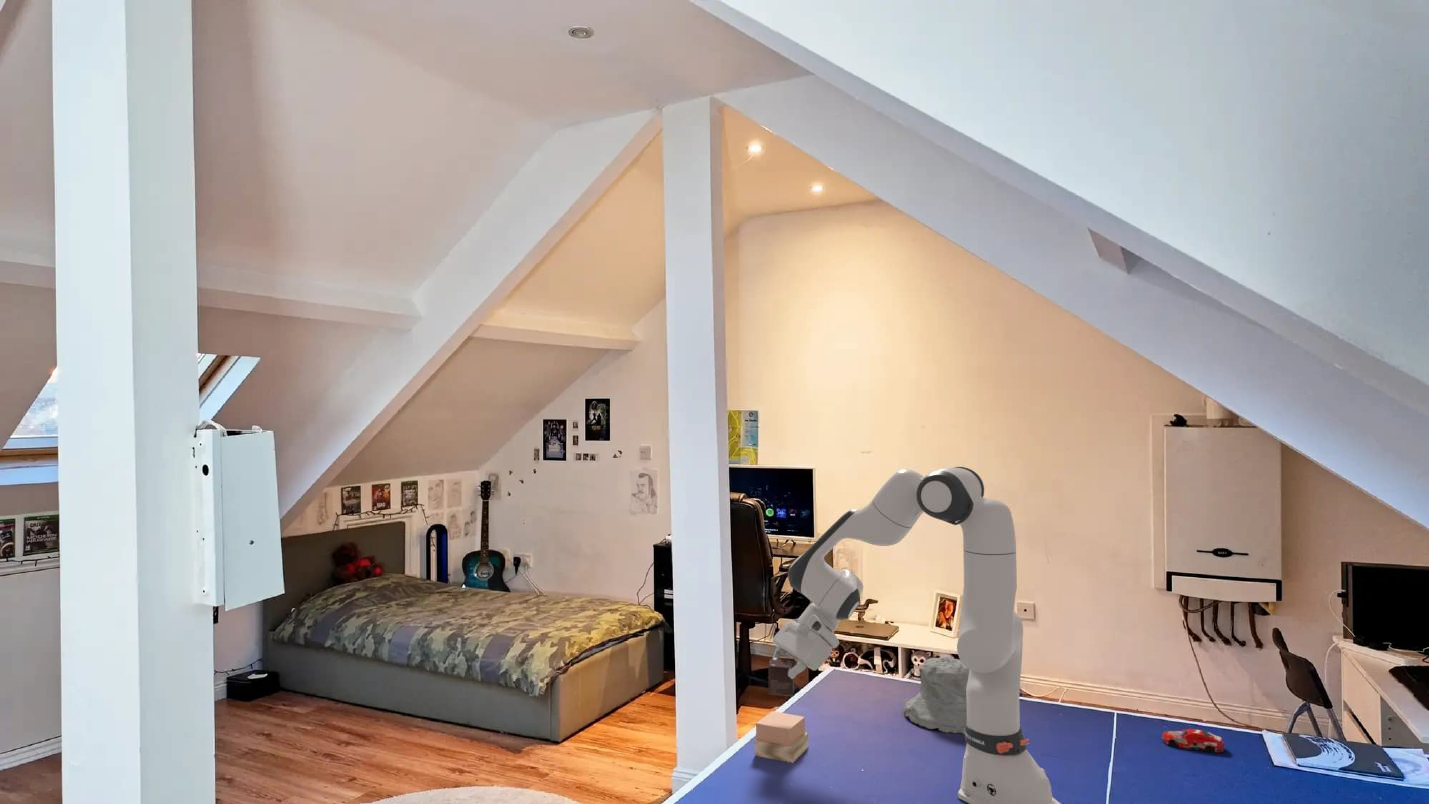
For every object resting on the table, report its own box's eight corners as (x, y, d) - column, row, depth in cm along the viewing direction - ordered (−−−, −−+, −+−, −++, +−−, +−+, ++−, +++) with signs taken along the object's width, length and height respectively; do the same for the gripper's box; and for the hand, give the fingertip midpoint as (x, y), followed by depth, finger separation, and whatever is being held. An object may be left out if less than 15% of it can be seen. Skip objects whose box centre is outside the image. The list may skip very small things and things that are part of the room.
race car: (1161, 746, 205) (1161, 730, 205) (1162, 738, 209) (1162, 722, 209) (1224, 756, 198) (1224, 739, 198) (1224, 748, 203) (1223, 731, 203)
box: (792, 697, 203) (792, 667, 203) (768, 695, 205) (768, 666, 204) (795, 686, 209) (795, 658, 209) (771, 685, 210) (771, 656, 210)
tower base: (808, 748, 208) (808, 732, 208) (793, 764, 199) (792, 748, 199) (771, 741, 213) (771, 726, 213) (755, 757, 204) (754, 740, 204)
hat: (898, 728, 219) (897, 671, 219) (907, 698, 241) (906, 646, 241) (1003, 739, 211) (1001, 680, 211) (1002, 706, 232) (1001, 653, 232)
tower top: (805, 733, 208) (804, 717, 208) (789, 746, 200) (789, 729, 200) (772, 726, 213) (772, 710, 213) (756, 739, 205) (755, 723, 205)
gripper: (788, 609, 219) (754, 651, 215) (826, 629, 200) (790, 675, 196) (803, 624, 220) (770, 666, 217) (843, 645, 201) (807, 691, 198)
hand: (780, 671), depth 206 cm, fingers closed on box, 8 cm apart
